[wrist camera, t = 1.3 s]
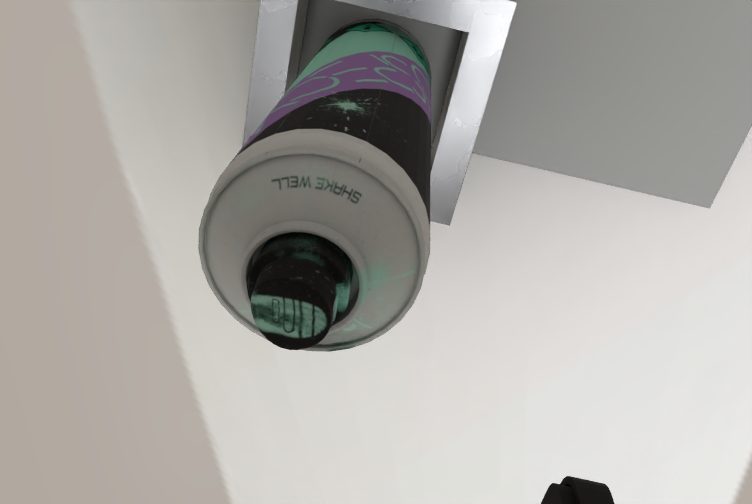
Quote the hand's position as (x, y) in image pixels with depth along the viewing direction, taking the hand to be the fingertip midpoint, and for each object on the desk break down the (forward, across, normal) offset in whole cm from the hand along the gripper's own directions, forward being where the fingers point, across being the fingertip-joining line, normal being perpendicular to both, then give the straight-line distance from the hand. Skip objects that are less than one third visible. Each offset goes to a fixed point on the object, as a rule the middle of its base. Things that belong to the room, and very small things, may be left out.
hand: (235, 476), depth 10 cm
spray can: (+24, 0, -1) cm, 24 cm away
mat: (+24, -11, -5) cm, 27 cm away
